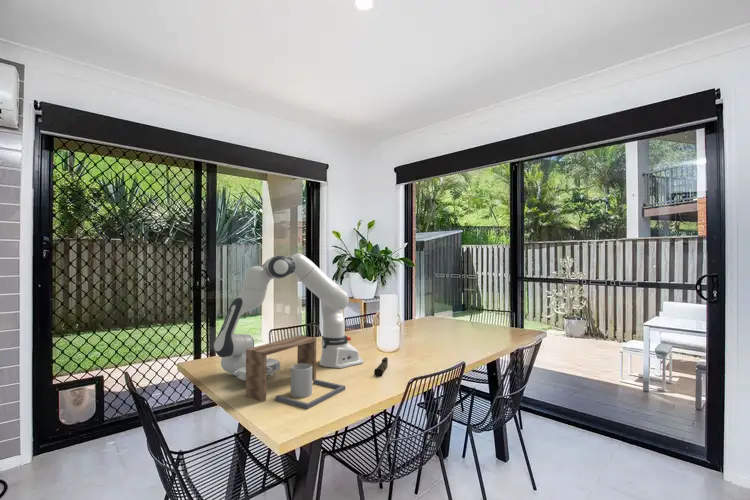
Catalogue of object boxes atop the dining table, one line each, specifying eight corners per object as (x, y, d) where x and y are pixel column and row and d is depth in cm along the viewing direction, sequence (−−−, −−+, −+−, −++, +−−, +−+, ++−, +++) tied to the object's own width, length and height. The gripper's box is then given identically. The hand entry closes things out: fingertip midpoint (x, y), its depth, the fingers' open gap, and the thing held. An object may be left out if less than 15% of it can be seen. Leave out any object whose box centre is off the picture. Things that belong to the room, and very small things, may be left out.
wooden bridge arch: (245, 396, 146) (246, 349, 147) (299, 375, 173) (299, 335, 173) (263, 401, 141) (264, 352, 142) (315, 379, 167) (316, 337, 168)
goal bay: (275, 399, 143) (275, 396, 143) (315, 382, 163) (315, 379, 163) (307, 409, 135) (307, 404, 135) (345, 389, 155) (345, 385, 155)
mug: (309, 398, 145) (309, 369, 145) (287, 397, 146) (288, 369, 146) (315, 387, 157) (315, 361, 157) (295, 386, 158) (295, 360, 158)
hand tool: (382, 377, 171) (382, 367, 171) (374, 376, 172) (374, 366, 172) (391, 366, 189) (392, 356, 190) (384, 365, 191) (384, 356, 191)
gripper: (230, 366, 158) (253, 371, 151) (267, 355, 176) (288, 359, 169) (230, 381, 158) (252, 387, 151) (266, 368, 176) (288, 373, 169)
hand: (272, 372), depth 160 cm, fingers closed
